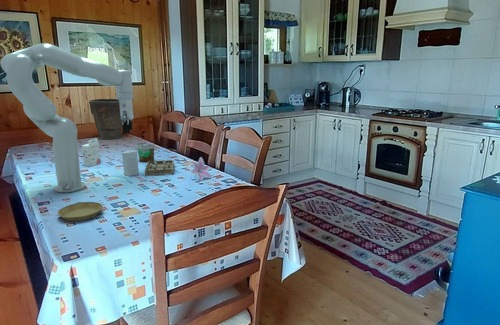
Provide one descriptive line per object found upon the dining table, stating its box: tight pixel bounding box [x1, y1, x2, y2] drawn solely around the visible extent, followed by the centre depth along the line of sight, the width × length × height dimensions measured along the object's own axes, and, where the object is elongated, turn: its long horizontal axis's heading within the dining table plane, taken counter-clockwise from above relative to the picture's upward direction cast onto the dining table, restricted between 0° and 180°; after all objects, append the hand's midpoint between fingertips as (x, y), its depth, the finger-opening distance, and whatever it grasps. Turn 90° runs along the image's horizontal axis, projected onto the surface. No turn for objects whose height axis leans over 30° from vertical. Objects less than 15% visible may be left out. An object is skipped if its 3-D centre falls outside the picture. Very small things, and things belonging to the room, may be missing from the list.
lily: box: [190, 156, 213, 182], centre depth 171 cm, size 12×12×10 cm
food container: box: [135, 142, 156, 163], centre depth 203 cm, size 12×6×10 cm, turn 62°
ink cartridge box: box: [81, 137, 102, 167], centre depth 195 cm, size 9×5×15 cm, turn 168°
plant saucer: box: [57, 201, 104, 222], centre depth 126 cm, size 15×15×3 cm
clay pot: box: [88, 98, 123, 141], centre depth 275 cm, size 25×29×30 cm
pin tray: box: [144, 159, 175, 177], centre depth 186 cm, size 20×14×4 cm
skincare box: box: [121, 149, 140, 177], centre depth 176 cm, size 6×4×12 cm
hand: (127, 131), depth 172 cm, fingers open, 9 cm apart
